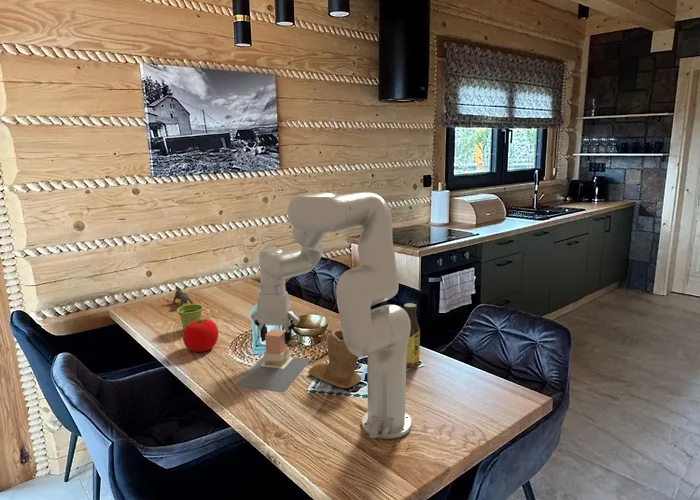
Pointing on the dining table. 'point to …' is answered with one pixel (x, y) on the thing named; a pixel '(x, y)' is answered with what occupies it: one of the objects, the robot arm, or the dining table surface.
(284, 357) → the birch block
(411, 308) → the sauce bottle
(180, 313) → the plant pot
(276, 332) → the terracotta block
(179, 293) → the dog figurine
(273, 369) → the build board
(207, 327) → the tomato
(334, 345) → the tan boot
